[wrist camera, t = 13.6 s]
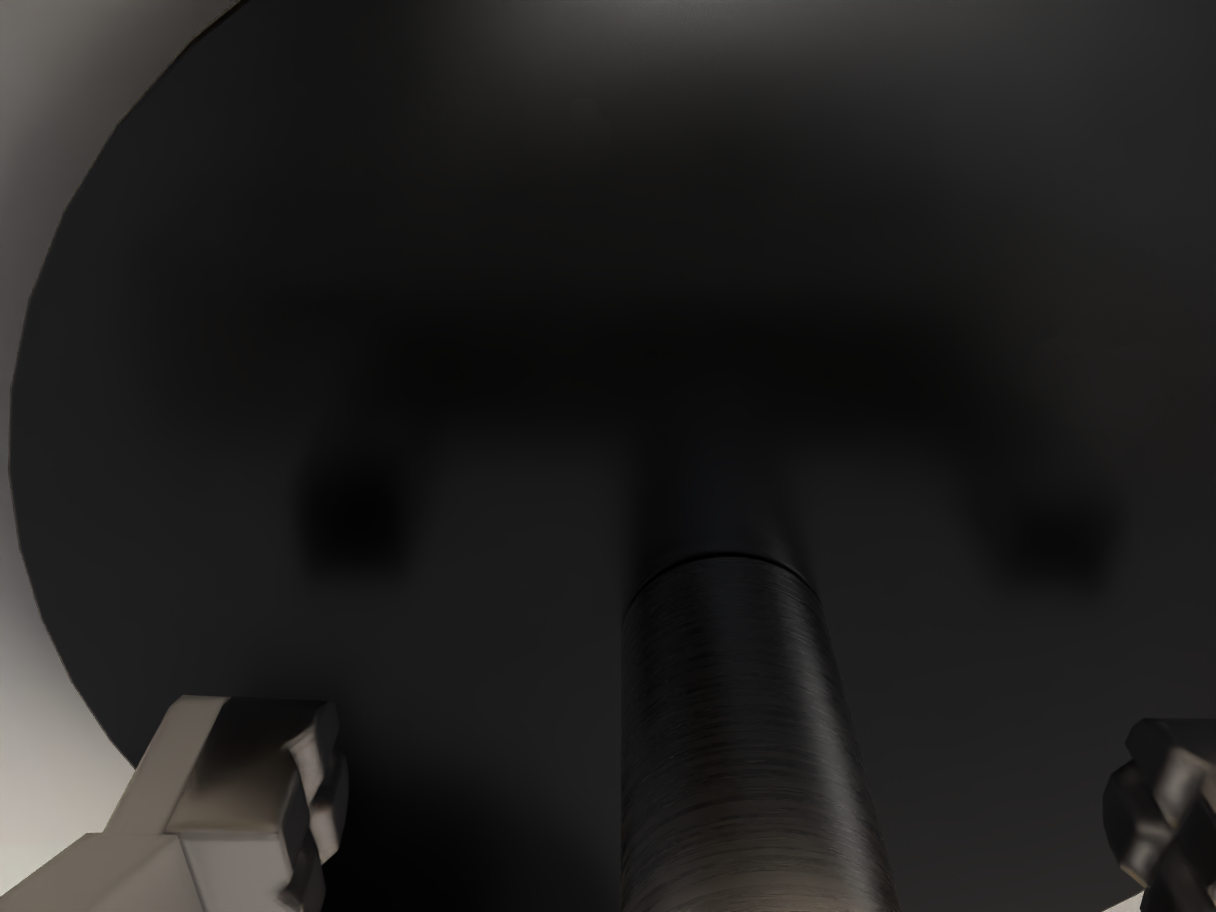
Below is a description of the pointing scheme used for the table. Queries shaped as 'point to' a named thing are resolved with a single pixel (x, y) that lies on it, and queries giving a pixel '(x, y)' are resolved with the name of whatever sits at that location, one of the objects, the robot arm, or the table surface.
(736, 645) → the lid
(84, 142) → the table surface
